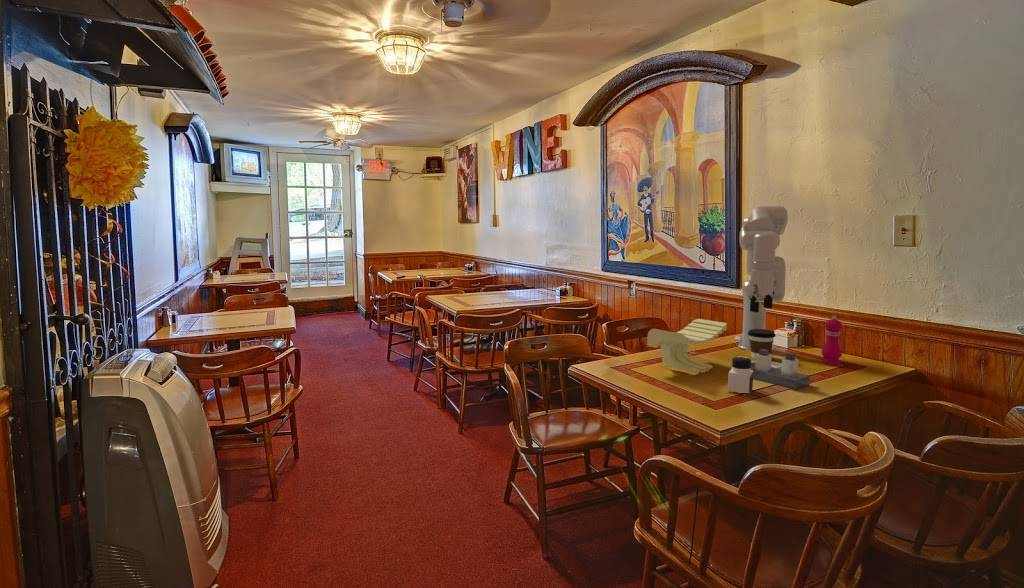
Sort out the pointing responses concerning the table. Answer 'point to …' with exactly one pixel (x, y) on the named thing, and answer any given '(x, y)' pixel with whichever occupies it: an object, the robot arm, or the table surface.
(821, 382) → the table surface
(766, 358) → the plug
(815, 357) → the table surface
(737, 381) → the medicine bottle
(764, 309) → the robot arm
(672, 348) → the slatted curved stool
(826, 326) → the pepper mill
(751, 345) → the coffee cup
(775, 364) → the tray
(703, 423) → the table surface
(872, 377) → the table surface
